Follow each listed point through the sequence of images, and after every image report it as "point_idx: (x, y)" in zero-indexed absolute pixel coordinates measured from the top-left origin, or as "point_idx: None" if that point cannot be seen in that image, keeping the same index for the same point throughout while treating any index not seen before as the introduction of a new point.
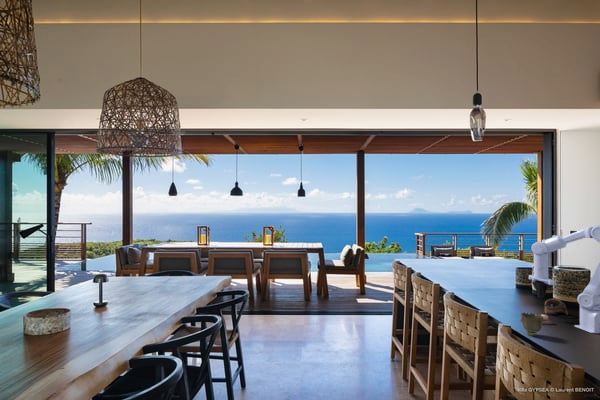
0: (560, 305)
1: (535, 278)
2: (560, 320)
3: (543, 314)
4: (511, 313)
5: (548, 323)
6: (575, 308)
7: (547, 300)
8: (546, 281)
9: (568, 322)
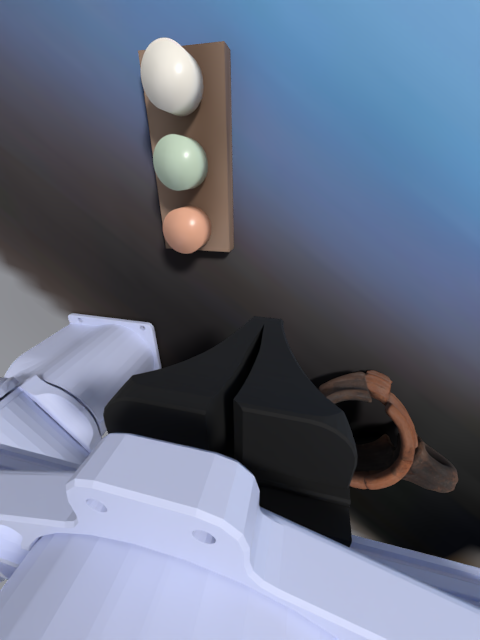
0: None
1: (78, 493)
2: None
3: (201, 242)
4: (461, 127)
5: None
6: (420, 533)
7: (409, 451)
8: None
9: None
